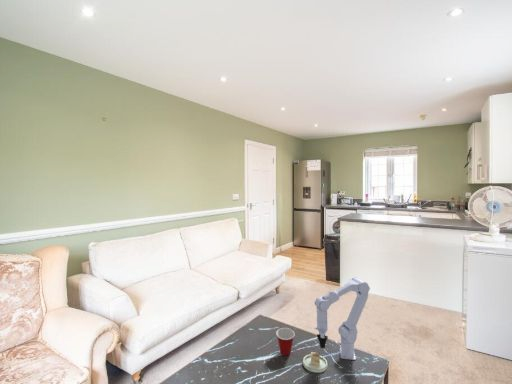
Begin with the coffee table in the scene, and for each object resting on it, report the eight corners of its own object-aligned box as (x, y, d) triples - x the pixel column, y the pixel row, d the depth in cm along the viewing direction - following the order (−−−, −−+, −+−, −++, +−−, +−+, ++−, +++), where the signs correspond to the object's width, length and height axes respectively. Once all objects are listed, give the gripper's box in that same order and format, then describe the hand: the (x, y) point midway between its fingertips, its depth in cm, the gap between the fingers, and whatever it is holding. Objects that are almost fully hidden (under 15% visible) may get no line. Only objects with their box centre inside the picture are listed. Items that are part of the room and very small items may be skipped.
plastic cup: (277, 359, 154) (277, 338, 153) (275, 347, 164) (275, 328, 164) (296, 358, 154) (296, 337, 154) (293, 347, 165) (293, 327, 165)
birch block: (311, 359, 151) (311, 352, 151) (319, 361, 150) (319, 353, 150) (311, 365, 147) (311, 357, 147) (319, 366, 146) (319, 358, 146)
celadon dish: (303, 355, 156) (303, 352, 156) (327, 358, 153) (327, 355, 153) (302, 370, 144) (302, 367, 144) (327, 374, 141) (327, 370, 141)
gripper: (314, 313, 160) (315, 335, 160) (314, 325, 145) (315, 350, 146) (327, 314, 158) (327, 337, 158) (328, 326, 144) (328, 352, 144)
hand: (322, 343), depth 152 cm, fingers open, 7 cm apart
